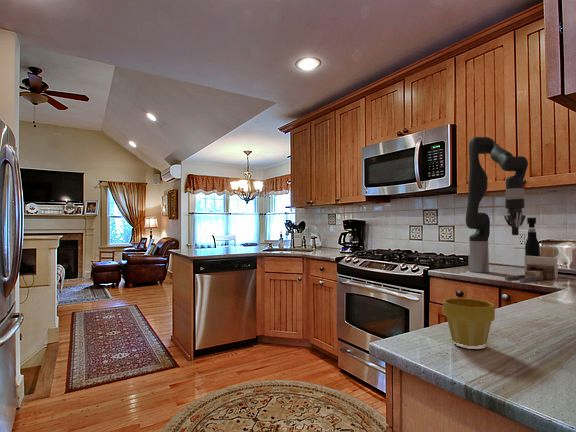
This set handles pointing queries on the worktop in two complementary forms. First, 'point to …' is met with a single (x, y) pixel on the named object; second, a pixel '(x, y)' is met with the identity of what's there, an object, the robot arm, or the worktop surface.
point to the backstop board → (542, 262)
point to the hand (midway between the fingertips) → (515, 235)
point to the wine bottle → (532, 240)
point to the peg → (534, 274)
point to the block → (547, 269)
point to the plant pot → (469, 320)
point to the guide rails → (522, 278)
